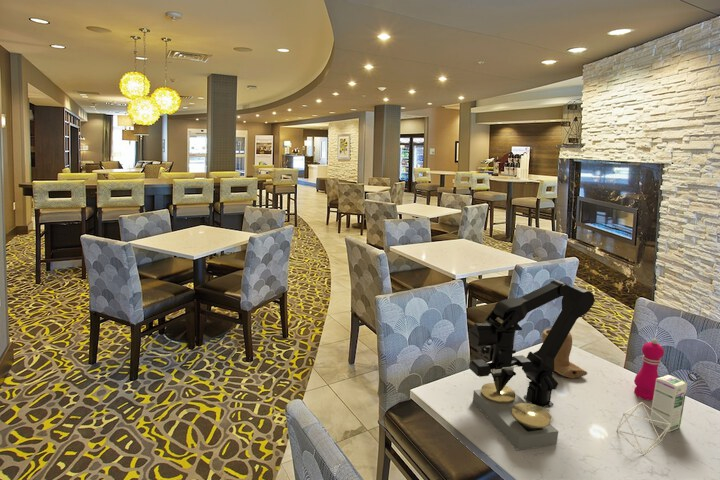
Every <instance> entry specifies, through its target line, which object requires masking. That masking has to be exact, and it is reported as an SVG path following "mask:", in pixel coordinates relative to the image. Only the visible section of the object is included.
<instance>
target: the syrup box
mask: <svg viewBox="0 0 720 480" xmlns="http://www.w3.org/2000/svg"><path fill="white" fill-rule="evenodd" d="M658 377H659V376H658ZM687 388H688V382H687V381H684V380H683V379H681V378H678V377H675V376H673V375H670V374H667V375H662V376H660V377H659V378H656V383H655V390H654V396H653V400H652V403H651V407H650V408H651V409H652V410H653V411H654V412H653V411H652V410H651V409H650V415H649V417H650V419H651V420H656V421H660V422H664V423H668V422H669V423H670V424H671V426H670V428H669V429H668V431H667V433H671V432H672V431H675V430H678V429H680V428H681V424H682V416H683V411H684V405H685V402H686V401H685V400H686V393H687V390H688V389H687ZM655 412H656V413H657V414H658V415H660V416H661V417H662V418H664V419H665V420H666V421H667V422H666V421H665V420H664V419H662V418H661V417H660V416H658V415H657V414H656V413H655ZM648 421H649V423H650V424H652V423H653V425H654V427H657V428H659V429H660V430H663V432H664V431H665V429H666V428H667V427H668V426H669V425H668V424H664V423H660V422H655V421H652V423H651V421H650V420H648ZM653 425H652V426H653ZM665 432H666V431H665Z"/></svg>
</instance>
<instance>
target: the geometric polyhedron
mask: <svg viewBox="0 0 720 480" xmlns="http://www.w3.org/2000/svg"><path fill="white" fill-rule="evenodd" d="M641 405H642V406H643V408H644V411H645V413H646V414H647V417H648V418H646V417H642V416H638V415H633V414H634V413H635V412H636V411H637V409H638V408H639V407H640V406H641ZM646 407H647V408H648V409H650V411H651V410H652V409H651V408H652V407H649V406H648V405H647V404H646V403H644V402H643V401H641V402H639V403H638V404H636V405H635V406H633V407H632V408H630V409H628V410H626V411H625V412H623V414H622V416H621V418H620V421H619V424H618V425H617V428H616V432H618V433H619V434H620V435H621V436H622V437H623V438H624V439H625V440H626V441H627V442H629V444H631V446H632V447H634V448H635V450H637V451H638V453H640V454H641V455H643V456H646V454H648V452H650V451H652V449H653V448H655V447H656V446H658V445H659V444H660V443H661V442H662V441H663V439H664V437H665V436H666V434H667V433H668V432H667V431H668V429H669V428H670V426H671V424H670V423H669V422H668V423H664V422H660V421H656V420H651V419H650V415H649V413H648V410H647V409H646ZM633 409H634V410H633ZM631 410H632V412H631V413H630V414H629V413H628V412H630V411H631ZM652 411H653V410H652ZM653 412H654V411H653ZM655 413H656V412H655ZM656 414H657V413H656ZM657 415H658V414H657ZM658 416H660V415H658ZM630 417H635V418H639V419H643V420H647V421H651V423H650V424H651V425H652V427H653V430H654V431H655V434H656V435H657V438H656V439H655V438H653V437H648V436H647V437H646V436H643V435H639V434H635V433H634V430H633V428H632V427H631V424H630V422H629V418H630ZM660 417H661V416H660ZM623 418H625V420H624V421H623ZM661 418H662V417H661ZM662 419H664V418H662ZM664 420H665V419H664ZM622 421H623V422H622ZM652 421H655V422H660V423H664V424H668V425H669V426H668V427H667V428H666V429H665V431H664V430H663V431H662V433H661V434H660V435H659V433H658V431H657V430H656V426H655V425H653V423H652ZM665 421H666V420H665ZM666 422H667V421H666ZM625 423H627V424H628V426H629V429H630V430H631V432H628V431H624V430H620V428H622V426H623V425H624V424H625ZM623 433H626V434H629V435H632V436H633V437H634V439H635V442H636V443H637V445H638V447H639V448H637V447H636V446H635V445H634V444H633V443H632V442H631V441H630V440H628V438H627V437H625V436H624V435H623ZM636 436H637V437H642V438H645V439H650V440H653V441H654V442H653V443H652V444H651V445H650V446H649V447H648V448H647V449H646V451H644V452H643V450H642V447H641V446H640V443H639V441H638V439H637V437H636ZM661 437H662V438H661ZM657 441H658V442H657Z"/></svg>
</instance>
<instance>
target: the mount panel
mask: <svg viewBox="0 0 720 480" xmlns="http://www.w3.org/2000/svg"><path fill="white" fill-rule="evenodd" d="M472 403H473V404H474V405H475V406H476V407H477V408H478V410H479V411H480V412H482V413H483V414H484V416H485V417H486V418H487V419H488V420H489V421H490V422H491V423H492V425H494V427H496V429H497V430H498V431H499V432H500V433H501V434H502V435H503V436H504V437H505V438H506V440H507V441H508V442H509V443H510V444H511V445H512V446H513V447H514V448H515V449H516V450H517V451H524V450H531V449H536V448H541V447H542V448H543V447H549V446H550V447H551V446H555V445H557V444H558V438H559V430H558V429H556V428H555V426H553V425H552V424H551V423H550V425H549V426H547V427H544V428H538V430H537V431H530V432H527V431H526V430H525V429H524V428H523V427H522V426H521V423H519V422H518V421H517V420H515V419H514V417H513V416H512V408H513V406H514V405H516V404H518V403H527V402H526V401H525V400H524V399H523V398H522V397H521V396H519V395H518V394H517V393H516V392H515V400H514V401H513V402H511V403H508V404H500V403H495V402H492V401H489V400H487V399H486V398H484V397H483V396H482V394H481V388H480V389H473V396H472Z"/></svg>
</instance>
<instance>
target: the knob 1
mask: <svg viewBox="0 0 720 480" xmlns="http://www.w3.org/2000/svg"><path fill="white" fill-rule="evenodd" d="M480 389H481V394H482V396H483V397H484V398H486V399H487V400H489V401H492V402H495V403H500V404H508V403H511V402H513V401H514V400H515V393H516V392H515V390H514V389H513V388H512V387H509V386H508V385H507V384H506V385H505V387H504V388H503V389H502V391H501V392H498V391H497V390H496V387H495V383H494V382H488V383H484V384H482V386H481V388H480Z"/></svg>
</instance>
